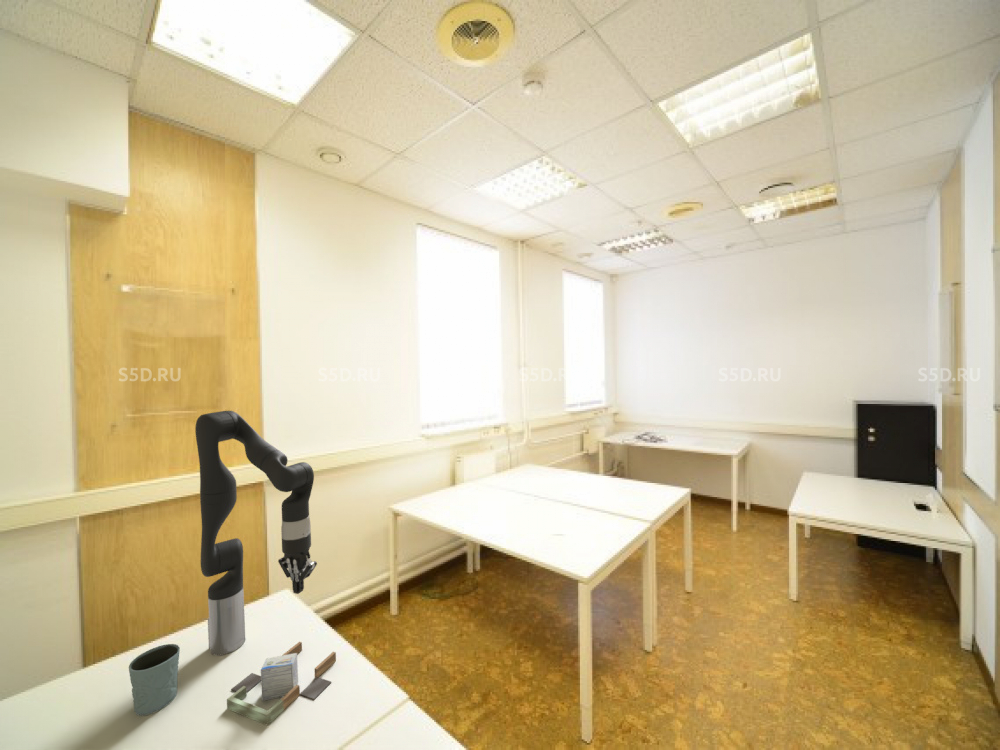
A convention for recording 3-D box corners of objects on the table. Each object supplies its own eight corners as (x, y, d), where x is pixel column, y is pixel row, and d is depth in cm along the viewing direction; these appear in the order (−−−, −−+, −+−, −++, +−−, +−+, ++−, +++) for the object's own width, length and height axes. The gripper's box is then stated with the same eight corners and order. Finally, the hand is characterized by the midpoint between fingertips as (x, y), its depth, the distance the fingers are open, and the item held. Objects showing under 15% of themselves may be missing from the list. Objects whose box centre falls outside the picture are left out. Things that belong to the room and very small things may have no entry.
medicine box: (298, 682, 109) (297, 651, 109) (294, 695, 105) (293, 663, 105) (267, 688, 107) (266, 657, 107) (261, 702, 103) (260, 669, 103)
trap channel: (214, 703, 103) (213, 694, 103) (287, 645, 124) (287, 638, 124) (282, 731, 94) (282, 721, 94) (349, 664, 115) (349, 656, 115)
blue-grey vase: (121, 722, 98) (119, 675, 98) (145, 690, 108) (143, 647, 108) (169, 711, 101) (167, 665, 101) (188, 681, 111) (186, 639, 111)
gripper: (268, 535, 112) (270, 595, 113) (302, 541, 108) (305, 603, 108) (290, 525, 119) (292, 581, 120) (324, 530, 115) (326, 589, 115)
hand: (298, 592), depth 114 cm, fingers closed
